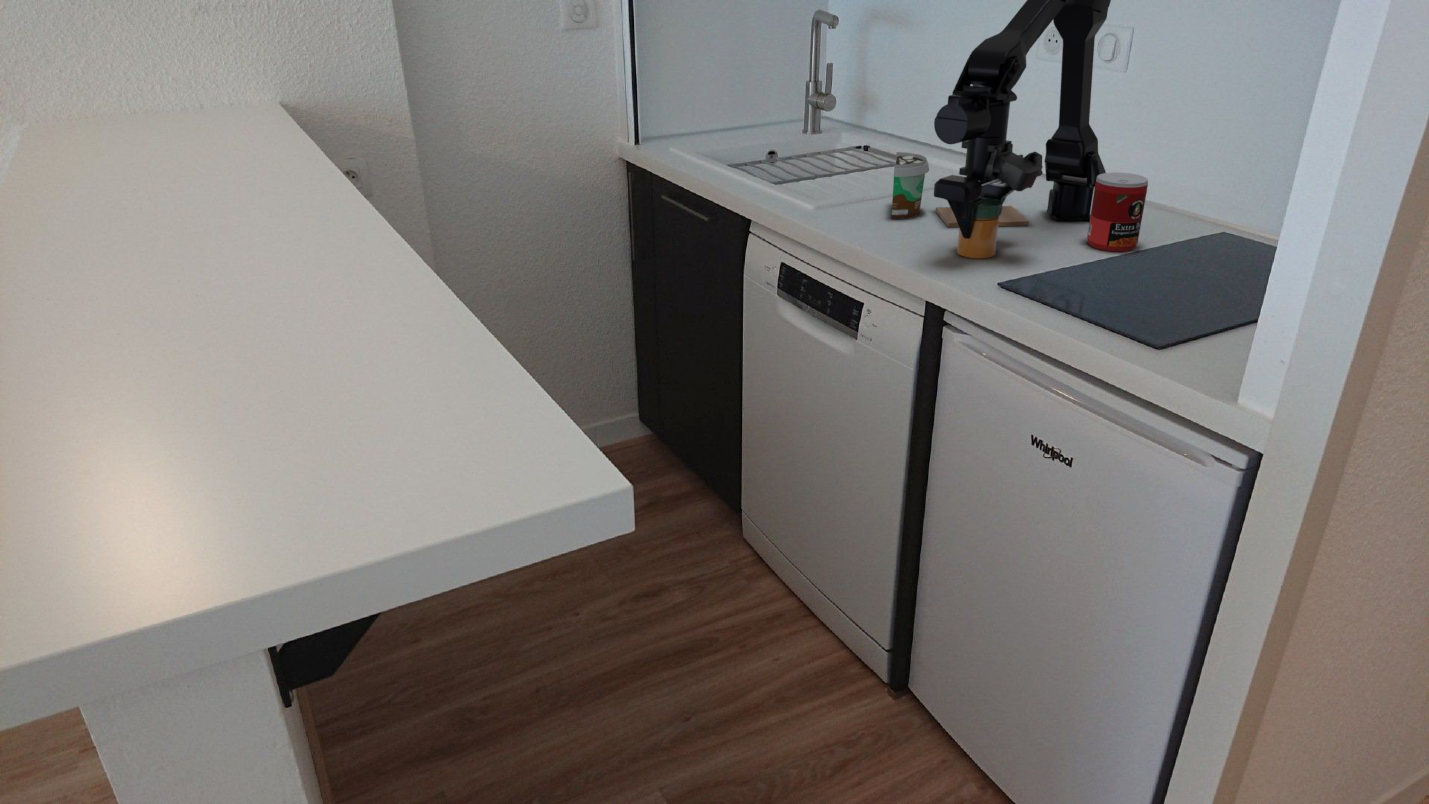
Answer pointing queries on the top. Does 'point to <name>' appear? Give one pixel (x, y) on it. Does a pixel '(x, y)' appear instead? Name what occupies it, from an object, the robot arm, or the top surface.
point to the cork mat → (1005, 219)
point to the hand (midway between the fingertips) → (977, 234)
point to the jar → (980, 239)
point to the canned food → (1117, 211)
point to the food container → (908, 184)
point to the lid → (989, 208)
